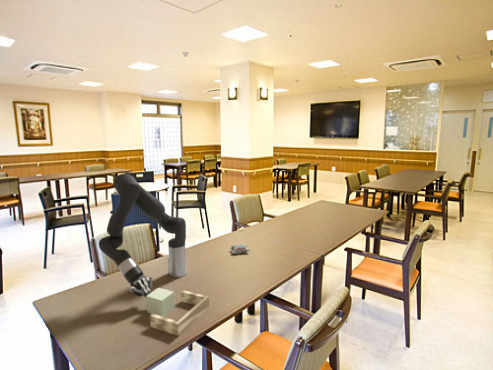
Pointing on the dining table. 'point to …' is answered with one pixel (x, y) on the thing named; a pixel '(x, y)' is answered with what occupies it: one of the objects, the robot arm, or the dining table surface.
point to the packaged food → (239, 249)
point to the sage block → (160, 302)
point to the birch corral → (187, 319)
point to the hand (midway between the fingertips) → (152, 300)
